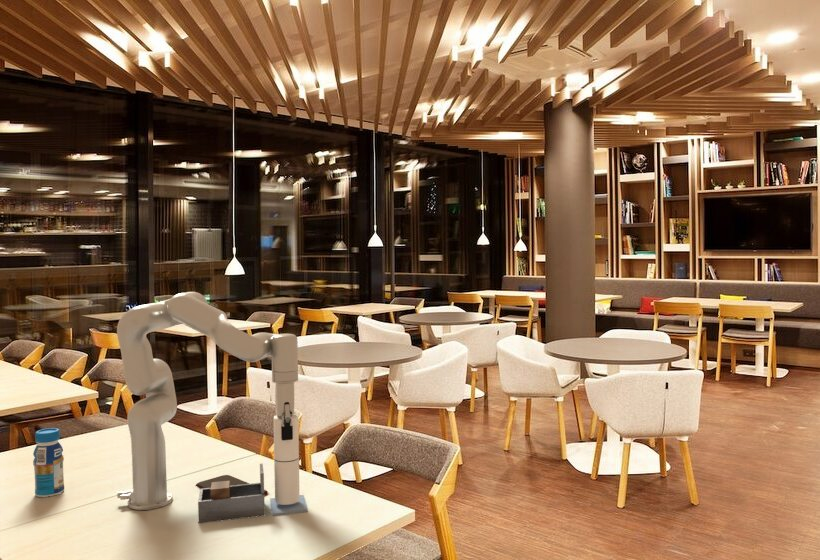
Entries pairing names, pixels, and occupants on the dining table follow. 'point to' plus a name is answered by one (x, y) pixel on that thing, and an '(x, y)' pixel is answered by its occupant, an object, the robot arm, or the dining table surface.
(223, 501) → the rack
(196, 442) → the dining table surface
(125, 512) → the dining table surface
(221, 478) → the smartphone
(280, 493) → the cylindrical container
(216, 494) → the walnut offcut upper
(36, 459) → the beverage bottle
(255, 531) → the dining table surface
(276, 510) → the mat
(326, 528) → the dining table surface
